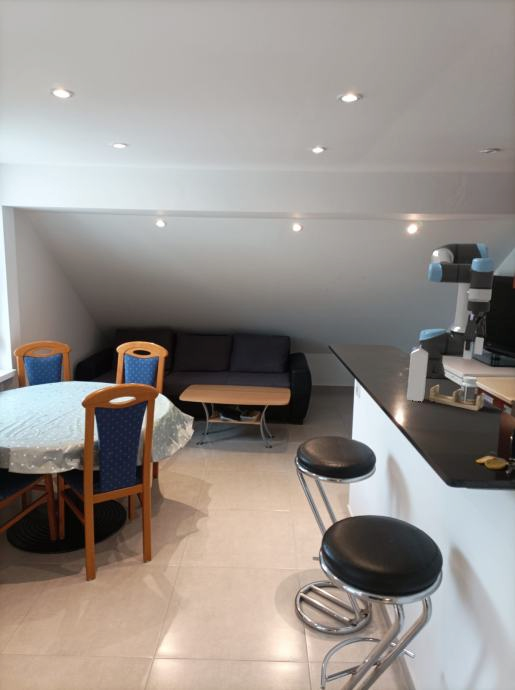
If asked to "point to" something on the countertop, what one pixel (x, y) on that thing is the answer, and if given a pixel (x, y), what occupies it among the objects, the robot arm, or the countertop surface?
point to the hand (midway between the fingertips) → (472, 356)
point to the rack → (455, 399)
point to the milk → (417, 375)
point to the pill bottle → (468, 390)
